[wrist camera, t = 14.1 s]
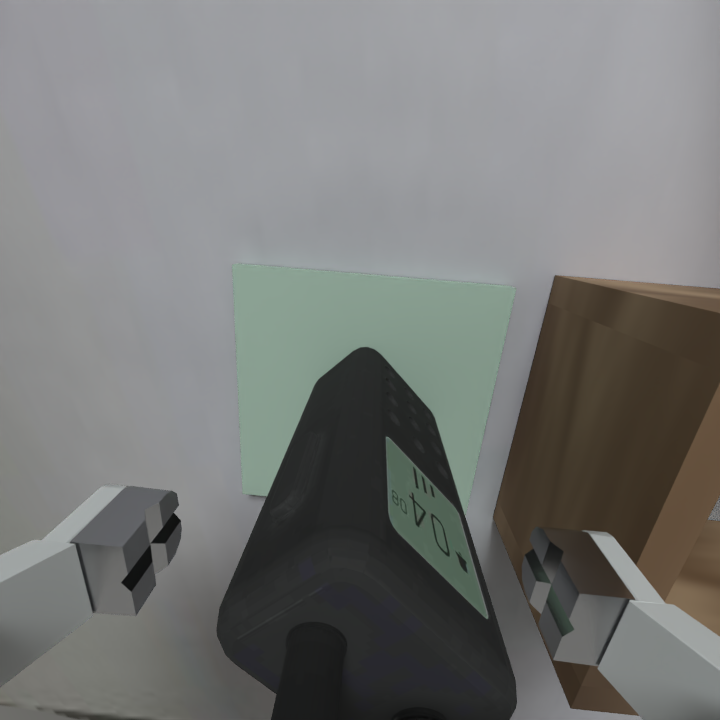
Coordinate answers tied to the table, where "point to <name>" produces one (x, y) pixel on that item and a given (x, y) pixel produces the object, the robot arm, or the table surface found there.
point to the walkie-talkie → (366, 568)
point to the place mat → (363, 329)
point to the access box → (623, 445)
